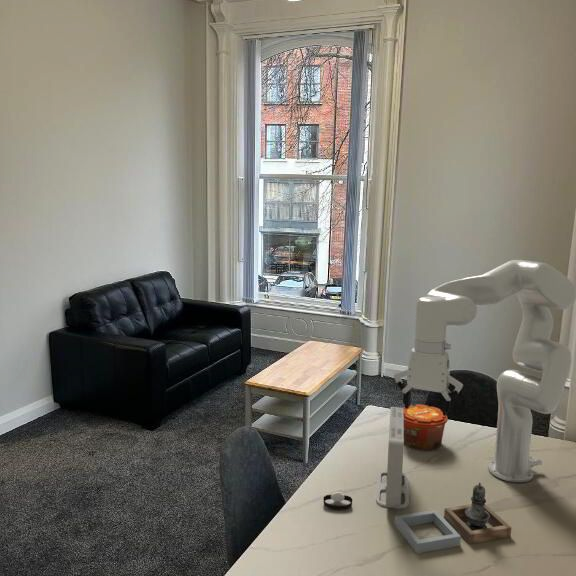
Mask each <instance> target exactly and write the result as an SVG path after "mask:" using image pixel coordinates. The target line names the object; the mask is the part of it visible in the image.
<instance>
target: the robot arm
mask: <svg viewBox="0 0 576 576" xmlns="http://www.w3.org/2000/svg"><path fill="white" fill-rule="evenodd" d="M514 294H515V296H516V297H517V299H518V302H519V305H520V307H521V312H522V319H521V323H520V327H519V331H518V333H517V337H516V339H515V344H514V346H513V350H512V355H511V356H512V360H513V362H514V363H515V364H517V365H518V366H521V367H522V368H525V369H529V370H531V371H535V372H539V373H541V374H542V376H537V375H534V374H531V373H529V372H525V371H522V370H517V369H507V370H504V371H503V372H501V374H500V375H499V376H498V378H497V382H496V392H497V393H496V394H497V401H498V411H497V423H496V437H495V448H494V449H495V450H494V459H493V460H492V461H490V462H489V463H488V472H489V473H490V474H491V475H493V476H494V477H496V478H497V479H499V480H502V481H505V482H511V483H527V482H530V481H531V480H532V479H533V478H534V471H533V469H532V468H534V467H537V466H541V465H543V461H542V459H541V458H534V459H533V457H532V456H530V453H531V443H532V442H531V441H532V432H533V431H532V430H533V423H534V422H533V420H534V419H533V414H532V411H534V412H537V413H541V414H543V415H549V414H552V413H553V412H554V411H555V410H557V408H558V406H559V404H560V401H561V398H562V396H563V393H564V389H565V387H566V383H567V380H568V376H569V373H570V371H571V366H572V352H571V350H570V349H569V347H568V346H567V345H565V344H564V343H561V342H558V341H554V340H551V336H552V332H553V329H554V317H553V315H552V312H551V310H550V308H551V309H555V310H567V309H568V308H571V307H572V306H573V304H574V303H575V302H576V286H575V283H574V282H573V281H572V280H571V279H570V278H568V277H567V276H566V275H565V274H564V273H562V272H561V271H559V270H558V269H557V268H555V267H553V266H552V265H550V264H548V263H545V262H543V261H542V262H540V261H535V260H533V261H532V260H525V259H512V260H509V261H506V262H505V263H503V264H501V265H499V266H496V267H494V268H493V269H491V270H490V271H489V270H488V271H487V272H485V273H483V274H480V275H475V276H470V277H465V278H461V279H456V280H452V281H449V282H448V281H447V282H445V283H443V284H441V285H439V286H437V287H435V288H433V289H431V290H430V291H429V292H428V293H427V294H426V295H425V296H423V297H419V298H418V300H417V301H416V306H415V307H416V308H415V310H416V311H415V324H414V325H415V326H414V327H415V328H414V329H415V330H414V346H413V348H412V349H411V351H410V354H409V359H408V366H407V369H406V370H401V371H400V372H397V373H395V374H394V375H393V377H394V380H395V382H396V384H397V385H396V386H397V387H398V388H399V389H400V390H401V392H402V393H403V396H402V397H403V398H402V404H403V405H404V407H405V409H407V408H409V406H410V405H412V404H411V400H412V391H411V389H416V390H422V391H428V392H433V393H441V395H442V396H443V398H444V399H443V403H442V412H443V416H447V415H448V413H450V412H451V403H452V399H453V398H455V397H457V396H458V394H459V393H460V391H461V390H462V389H463V387H464V384H463V383H462V382H460V381H459V380H458V379H456V378H455V377H453V376H451V375H450V374H451V372H450V371H451V369H450V356H449V352H448V350H451V349H452V344H451V343H448V342H447V340H446V338H447V337H446V336H447V326H457V327H458V326H459V327H460V326H466V325H468V324H470V323H472V322H473V321H474V320H475V318H476V316H477V313H478V308H477V306H487V305H488V306H489V305H495V304H498V303H501V302H502V301H504V300H505V299H507V298H510V297H511V296H512V295H514ZM404 377H406V383H405V382H404V381H403V380H402V378H404ZM450 384H451V385H452V386H454V390H452V391H450V389H449V386H450ZM531 410H532V411H531Z"/></svg>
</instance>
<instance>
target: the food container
mask: <svg viewBox="0 0 576 576" xmlns="http://www.w3.org/2000/svg"><path fill="white" fill-rule="evenodd" d="M402 408H403V420H404V446H406V447H408V448H411V449H413V450H417V451H425V452H427V451H434V450H438V449H439V448H440V447H441V446H442V442H443V437H444V431H445V426H446V424H447V422H448V421H449V420H448V419H449V418H448V415H446V416H443V410H442V409H440V408H439V407H435V406H429V405H427V404H415V405H412V404H410V406H409V408H407V409H405V406H403V407H402Z"/></svg>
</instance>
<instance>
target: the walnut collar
mask: <svg viewBox="0 0 576 576" xmlns="http://www.w3.org/2000/svg"><path fill="white" fill-rule="evenodd" d="M471 506H472V503H471V504H465V505H458V506H451V507H447V508H446V507H445V508H444V512H443V513H444V514H443V518H444V519H445V520H446V521H447V522H448V523H449V524H450V525H451V526H452V527H453V528H454V529H455V531H456V532H457V533H458V534H459V535H460V536H461V537H462V538H463V539H464V540H465V541H466V542H468V543H469V544H468V545H473V544H477V543H478V544H479V543H483V542H488V541H489V542H490V541H494V540H500V539H506V538H511V537H512V536H511V535H512V526H511V525H509V524H508V523H507V522H506V521H505V519H502V518H501V517H500V516H499V515H498V514H497V513H496V512H495V511H493V510H492V509H491V508H490V507H489V506H488V505H487V504H485V505H484V510H485V511H487V512H488V513H489V515H490V518H489V519H488V521H487V522H489V523H490V524H491V525H492V527H487V528H486V529H480V530H474V531H472V530H471V529H470V528H469V527H468V526H467V525H466V522H464V521H463V520H462V519H461V518H467V517H466V514H465V510H466V509H467V508H470V507H471Z"/></svg>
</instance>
